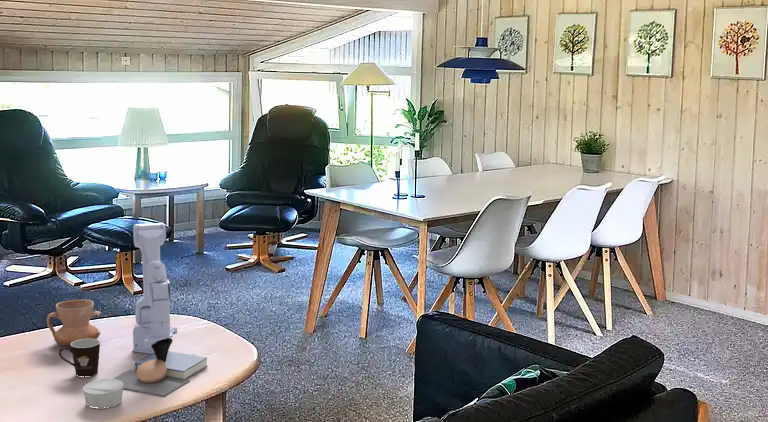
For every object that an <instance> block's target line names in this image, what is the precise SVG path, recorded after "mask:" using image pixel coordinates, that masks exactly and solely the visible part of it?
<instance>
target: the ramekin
mask: <svg viewBox="0 0 768 422" xmlns="http://www.w3.org/2000/svg"><path fill="white" fill-rule="evenodd" d="M123 388H124V384H123V382H122V381H120V380H116V379H113V378H101V379H97V380H92V381H90V382H87V383H86V384H85V385H83V387H82V393H83V396H84V400H85V403H86V405H87V404H88V405H89V406H92V407H98V408H104V407H105V408H107V407H112V406H115V405H117V404H118V405H119V404H121V402H122V400H123V393H124V389H123ZM88 405H87V406H88ZM118 405H117V406H118ZM89 406H88V407H89ZM115 407H116V406H115ZM112 408H113V407H112Z"/></svg>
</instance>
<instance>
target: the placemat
mask: <svg viewBox="0 0 768 422" xmlns="http://www.w3.org/2000/svg"><path fill="white" fill-rule="evenodd" d="M112 379H116V380H120V381H122V382H123V384H124V388H123V390H125V389H127V391H131V390H132V391H131V392H136V391H137V392H138V393H143V394H148V395H151V396H152V395H153V396H158V397H166V396H169V395H170V394H171V393H173V392H174V391H177V390H178V389H179V388H181V387H183V386H184V385H186V384H188V383H189V382H190V379H180V378H175V377H169V376H165V377H164V378H162V379H161V380H159V381H157V382H154V383H148V384H147V383H142V382H140V381H139V380H138V377H137V374H136V371H135V369H129V370H126V371H124V372H123V373H121V374H119V375H117V376H114V377H113V378H112Z"/></svg>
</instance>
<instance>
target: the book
mask: <svg viewBox="0 0 768 422" xmlns="http://www.w3.org/2000/svg"><path fill="white" fill-rule="evenodd" d="M154 359H157V358H156V355H155V352H154V353H152V354H148V355H146V356H145V357H143V358H141V359H139V360H137V361H135V362H134V370H135V371H137V369H138V367H139V366H140V365H141V364H143V363H144V362H147V361H149V360H154ZM207 360H208V357H206V356H200V355H194V354H188V353H182V352H176V351H171V350H168V354H167V358H166V362H165V363H166V366H167V370H168V371H167V374H166V376H169V377H175V378H180V379H186V380H188V379H189V378H191V377H192V376H194V375H196V374H198V373H199V372H200V371H202V370H204V369H206V368H207V367H208V361H207Z"/></svg>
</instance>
